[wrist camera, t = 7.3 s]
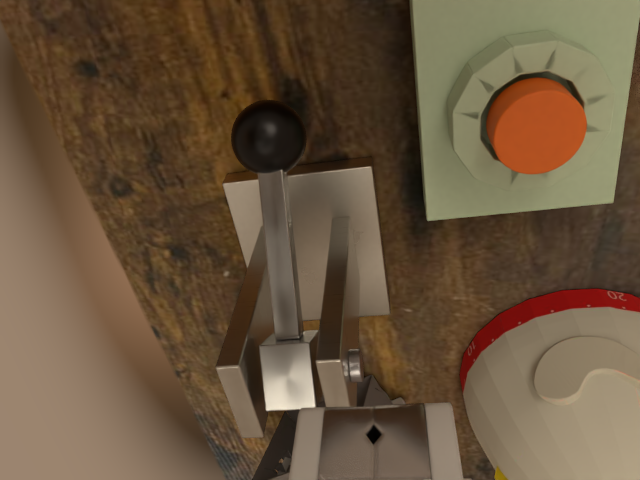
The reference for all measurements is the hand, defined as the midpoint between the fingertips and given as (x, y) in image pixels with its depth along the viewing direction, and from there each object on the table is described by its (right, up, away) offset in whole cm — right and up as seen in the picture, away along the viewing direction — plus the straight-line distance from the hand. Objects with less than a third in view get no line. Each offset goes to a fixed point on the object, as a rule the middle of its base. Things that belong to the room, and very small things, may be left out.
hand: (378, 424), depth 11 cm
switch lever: (-3, +3, +14) cm, 15 cm away
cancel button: (+8, +9, +12) cm, 17 cm away
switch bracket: (-2, +4, +21) cm, 21 cm away
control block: (+8, +11, +15) cm, 20 cm away
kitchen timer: (+15, -5, +25) cm, 30 cm away
